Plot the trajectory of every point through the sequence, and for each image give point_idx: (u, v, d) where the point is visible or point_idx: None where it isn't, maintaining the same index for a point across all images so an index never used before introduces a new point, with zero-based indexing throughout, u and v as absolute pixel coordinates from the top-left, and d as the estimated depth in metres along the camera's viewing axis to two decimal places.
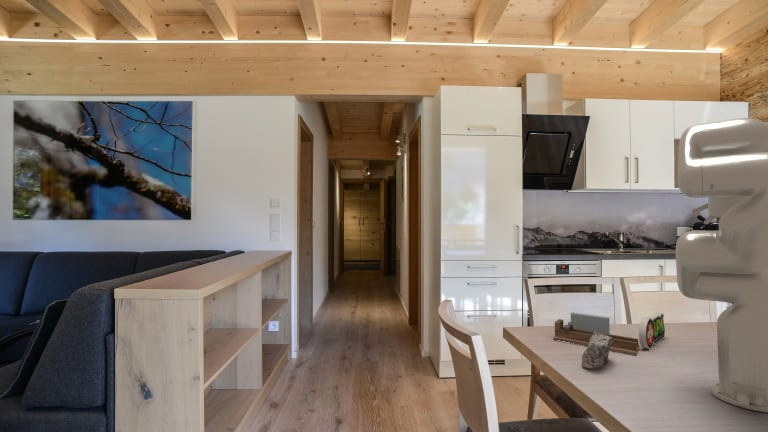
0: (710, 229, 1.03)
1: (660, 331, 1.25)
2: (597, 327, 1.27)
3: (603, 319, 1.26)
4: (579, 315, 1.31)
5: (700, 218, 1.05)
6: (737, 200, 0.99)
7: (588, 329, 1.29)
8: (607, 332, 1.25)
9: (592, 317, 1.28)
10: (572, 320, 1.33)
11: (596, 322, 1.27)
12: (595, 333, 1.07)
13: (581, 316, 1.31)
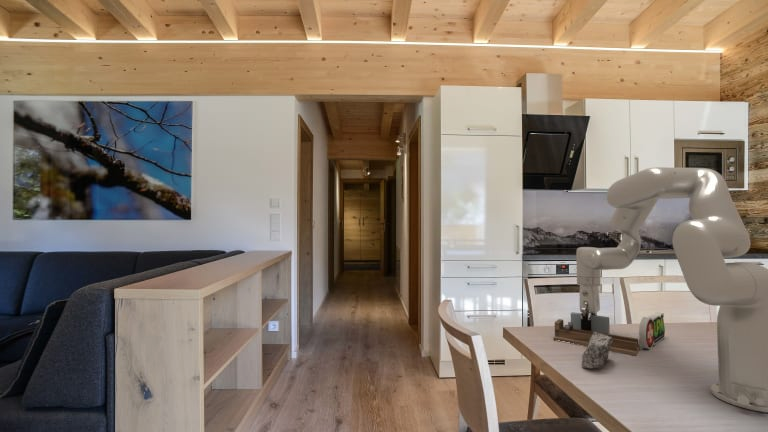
0: None
1: (660, 331, 1.25)
2: (597, 327, 1.27)
3: (603, 319, 1.26)
4: (579, 315, 1.31)
5: (587, 316, 1.25)
6: (598, 299, 1.29)
7: None
8: (607, 332, 1.25)
9: (592, 317, 1.28)
10: (572, 320, 1.33)
11: (596, 322, 1.27)
12: (595, 333, 1.07)
13: None
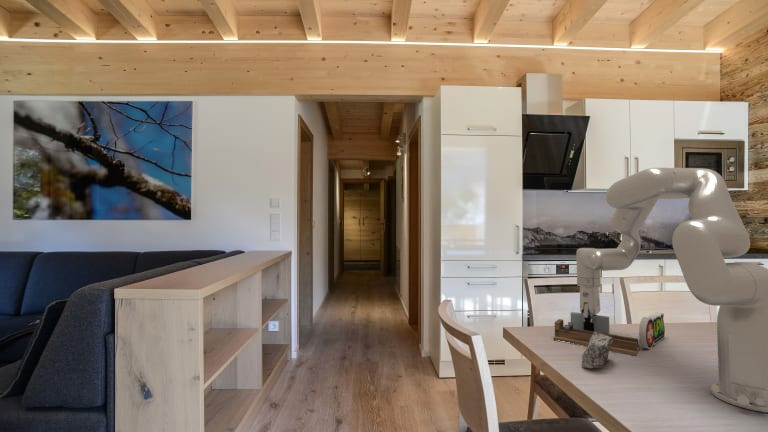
0: (593, 327, 1.28)
1: (660, 331, 1.25)
2: (597, 327, 1.27)
3: (603, 319, 1.26)
4: (579, 315, 1.31)
5: (589, 319, 1.27)
6: (598, 300, 1.29)
7: None
8: (607, 332, 1.25)
9: None
10: (572, 320, 1.33)
11: (596, 321, 1.27)
12: (595, 333, 1.07)
13: (581, 316, 1.31)
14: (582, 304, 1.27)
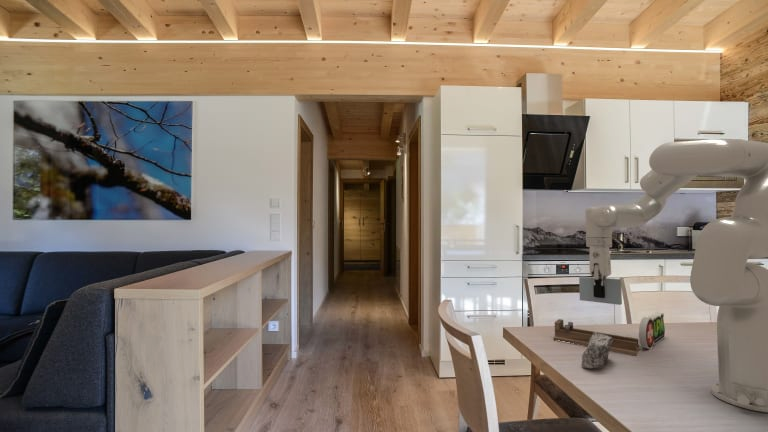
0: (604, 290, 1.19)
1: (660, 331, 1.25)
2: (608, 290, 1.18)
3: (614, 281, 1.17)
4: (588, 279, 1.22)
5: (600, 281, 1.18)
6: (609, 262, 1.20)
7: None
8: (619, 295, 1.17)
9: None
10: (581, 284, 1.24)
11: (607, 284, 1.19)
12: (595, 333, 1.07)
13: (590, 279, 1.22)
14: (592, 265, 1.18)
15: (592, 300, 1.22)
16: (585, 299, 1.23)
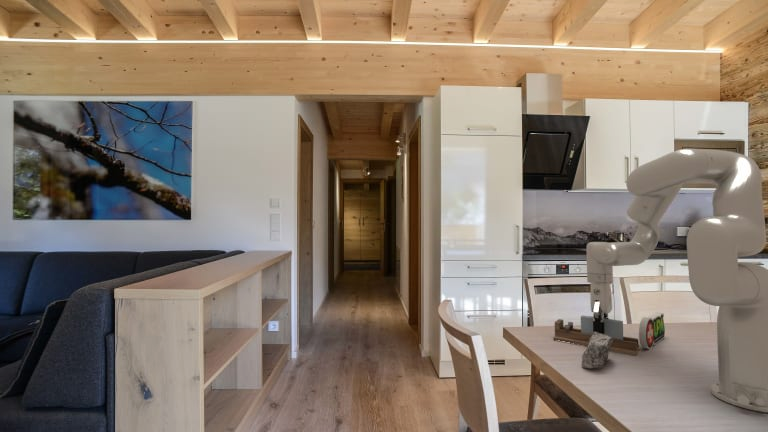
0: (604, 327, 1.17)
1: (660, 331, 1.25)
2: (610, 332, 1.18)
3: (616, 323, 1.17)
4: (590, 318, 1.22)
5: (600, 317, 1.16)
6: (610, 298, 1.20)
7: None
8: (621, 337, 1.16)
9: (604, 321, 1.19)
10: (582, 324, 1.23)
11: (609, 326, 1.18)
12: (595, 333, 1.07)
13: (592, 320, 1.21)
14: (593, 302, 1.18)
15: None
16: None
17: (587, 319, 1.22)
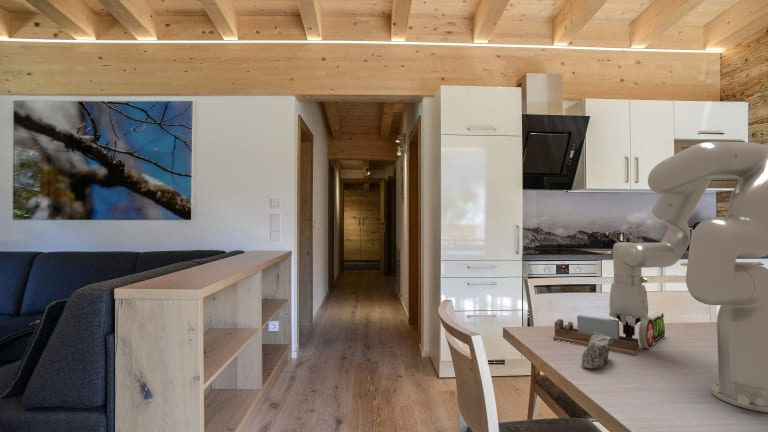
0: None
1: (660, 331, 1.25)
2: (606, 331, 1.19)
3: (612, 322, 1.17)
4: (586, 318, 1.23)
5: None
6: None
7: None
8: (617, 336, 1.17)
9: (600, 320, 1.20)
10: (579, 323, 1.24)
11: (605, 325, 1.19)
12: (595, 333, 1.07)
13: (588, 319, 1.22)
14: (646, 306, 1.12)
15: None
16: None
17: (584, 318, 1.23)
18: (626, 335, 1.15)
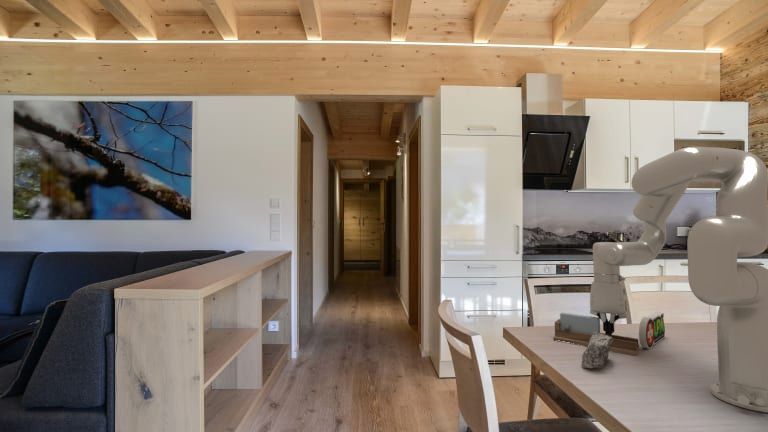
0: None
1: (660, 331, 1.25)
2: (587, 328, 1.22)
3: (593, 320, 1.21)
4: (569, 315, 1.26)
5: None
6: None
7: (578, 330, 1.24)
8: None
9: (582, 318, 1.23)
10: (562, 321, 1.28)
11: (587, 322, 1.22)
12: (595, 333, 1.07)
13: (571, 317, 1.26)
14: (624, 303, 1.16)
15: None
16: None
17: (566, 316, 1.27)
18: (606, 332, 1.18)
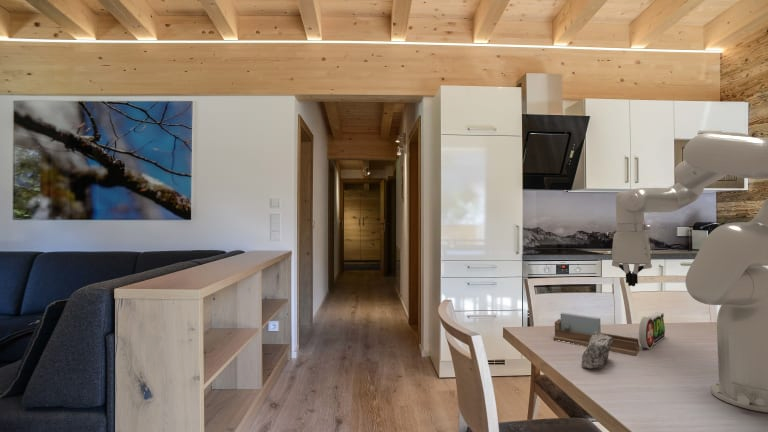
0: None
1: (660, 331, 1.25)
2: (587, 328, 1.22)
3: (593, 320, 1.21)
4: (569, 316, 1.26)
5: None
6: None
7: (578, 330, 1.24)
8: None
9: (582, 318, 1.23)
10: (562, 321, 1.28)
11: (587, 322, 1.22)
12: (595, 333, 1.07)
13: (571, 317, 1.26)
14: (649, 253, 1.11)
15: None
16: None
17: (566, 316, 1.27)
18: (629, 283, 1.14)
